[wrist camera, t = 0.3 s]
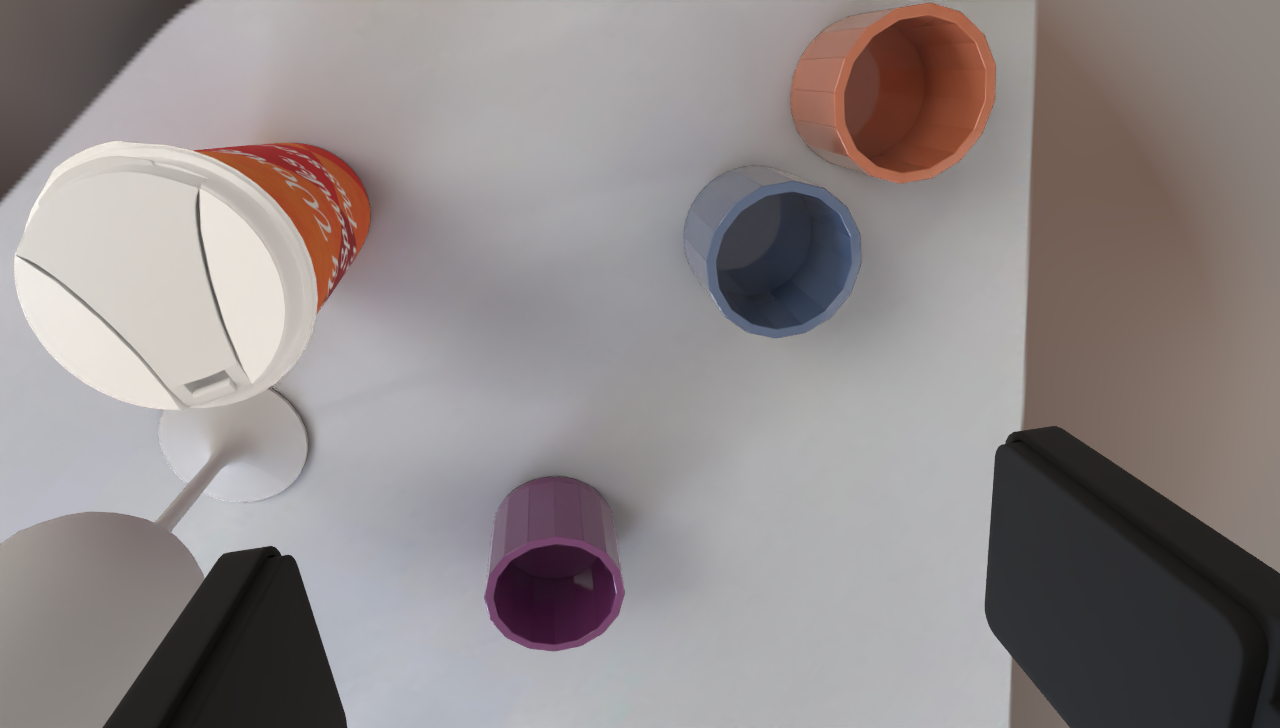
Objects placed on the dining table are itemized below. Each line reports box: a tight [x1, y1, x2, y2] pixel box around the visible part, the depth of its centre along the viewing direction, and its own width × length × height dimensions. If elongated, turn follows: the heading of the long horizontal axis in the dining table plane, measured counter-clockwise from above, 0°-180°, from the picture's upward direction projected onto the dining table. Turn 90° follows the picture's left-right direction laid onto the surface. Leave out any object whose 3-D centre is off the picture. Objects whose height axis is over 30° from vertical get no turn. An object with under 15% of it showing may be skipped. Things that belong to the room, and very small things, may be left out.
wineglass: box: [0, 388, 308, 728], centre depth 30 cm, size 8×8×21 cm
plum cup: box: [484, 477, 625, 651], centre depth 41 cm, size 7×7×6 cm
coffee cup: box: [14, 141, 370, 410], centre depth 29 cm, size 8×8×15 cm
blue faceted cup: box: [684, 166, 861, 338], centre depth 36 cm, size 7×7×6 cm
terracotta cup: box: [791, 3, 996, 183], centre depth 34 cm, size 7×7×6 cm
